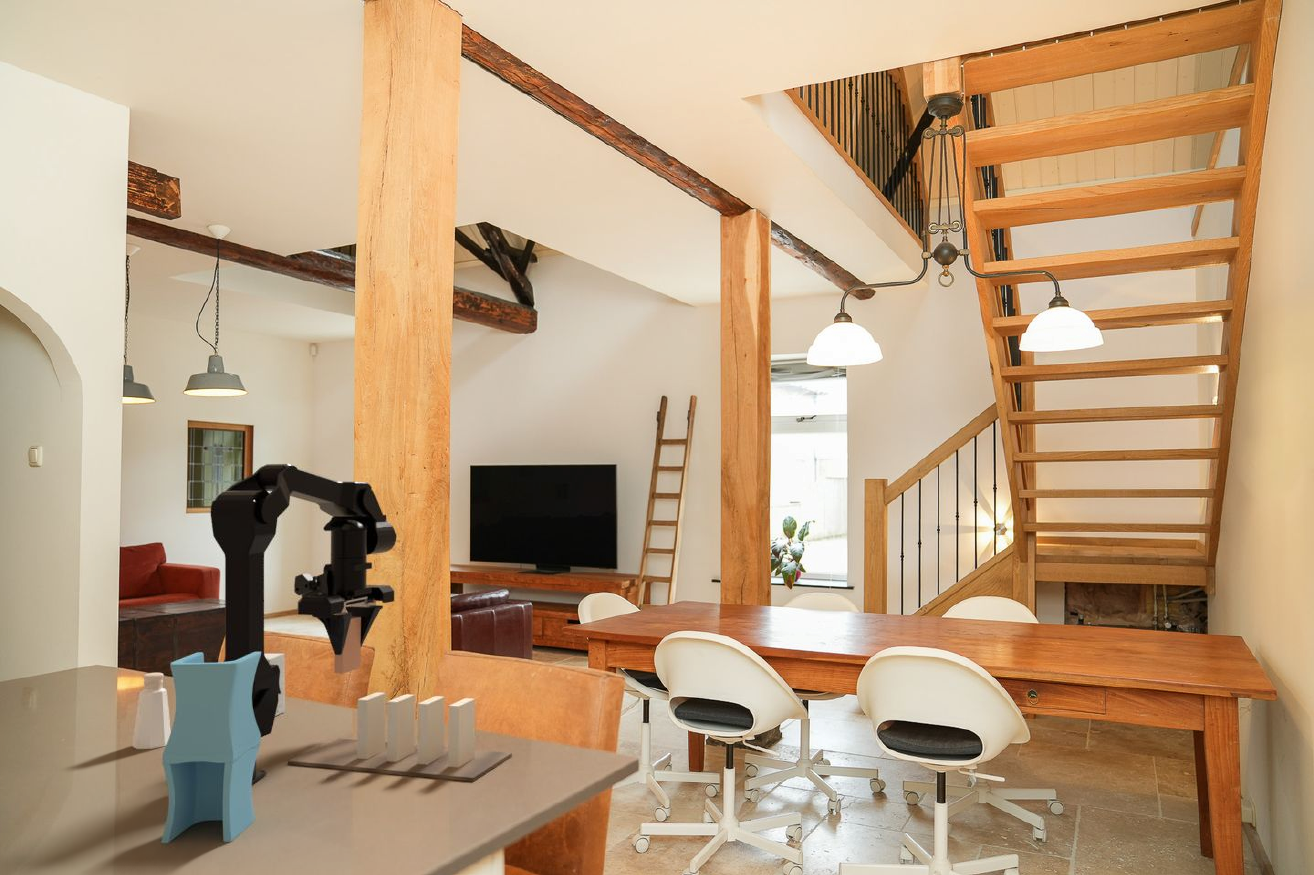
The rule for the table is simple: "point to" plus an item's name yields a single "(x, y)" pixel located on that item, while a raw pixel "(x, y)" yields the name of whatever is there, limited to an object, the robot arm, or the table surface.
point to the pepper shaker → (152, 714)
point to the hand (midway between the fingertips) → (347, 651)
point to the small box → (280, 661)
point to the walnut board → (398, 762)
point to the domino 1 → (371, 725)
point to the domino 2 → (400, 727)
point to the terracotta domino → (350, 649)
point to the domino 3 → (431, 730)
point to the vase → (212, 745)
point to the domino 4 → (461, 732)
